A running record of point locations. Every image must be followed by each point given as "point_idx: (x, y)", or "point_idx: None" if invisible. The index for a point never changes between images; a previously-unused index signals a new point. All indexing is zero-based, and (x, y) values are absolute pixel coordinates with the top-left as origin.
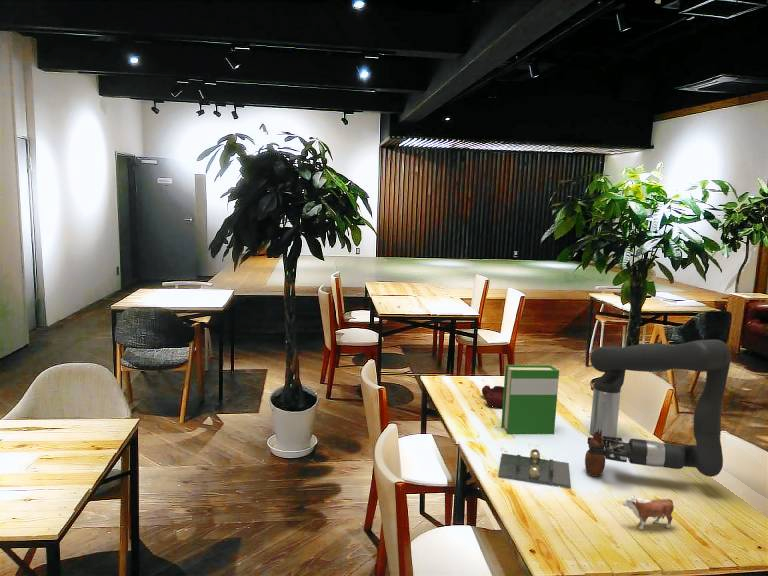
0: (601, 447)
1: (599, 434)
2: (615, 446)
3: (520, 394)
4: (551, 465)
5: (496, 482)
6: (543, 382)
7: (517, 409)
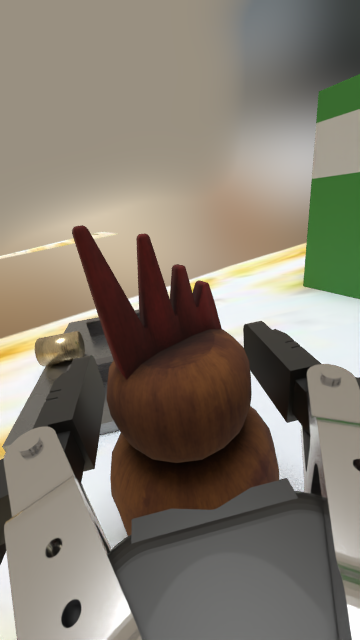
0: (65, 413)
1: (113, 288)
2: (43, 582)
3: (341, 174)
4: (106, 359)
5: (47, 333)
6: None
7: (329, 223)
